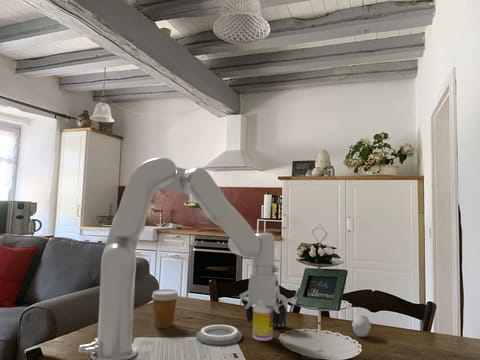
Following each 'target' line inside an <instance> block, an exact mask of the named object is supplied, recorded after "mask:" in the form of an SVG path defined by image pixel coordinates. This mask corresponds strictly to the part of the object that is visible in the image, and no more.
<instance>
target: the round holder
mask: <svg viewBox="0 0 480 360" xmlns="http://www.w3.org/2000/svg"><path fill="white" fill-rule="evenodd" d="M242 337H243V334H242V332H241V331H240V330H239V329H238V328H237V327H236V326H232V325H228V324H212V325H207V326H205V327H202V328H201V329H200V330H199V331H197V332H196V340H197V342H199V343H201V344H204V345H208V346H215V347H216V346H217V347H219V346H220V347H221V346H230V345H234V344H238V343H239V342H241V340H242Z"/></svg>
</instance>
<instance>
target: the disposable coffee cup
mask: <svg viewBox="0 0 480 360" xmlns="http://www.w3.org/2000/svg"><path fill="white" fill-rule="evenodd" d="M178 296H179V294H178V291H177V290H175V289H171V288H169V289H168V288H167V289H157V290H154V291H153V292H152V295H151V299H152V305H153V306H152V307H153V317H154V326H155V328H158V329H168V328H171V327H173V325H174V319H175V313H176V312H175V311H176V306H177V300H178Z"/></svg>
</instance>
